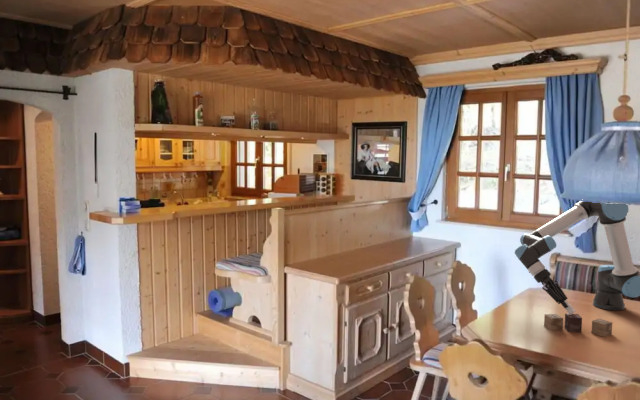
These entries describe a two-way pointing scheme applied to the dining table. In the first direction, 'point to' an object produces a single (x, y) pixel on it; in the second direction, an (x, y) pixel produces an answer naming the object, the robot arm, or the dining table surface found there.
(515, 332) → the dining table surface
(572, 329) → the box
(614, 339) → the dining table surface
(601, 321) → the marked block one
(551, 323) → the marked block two
